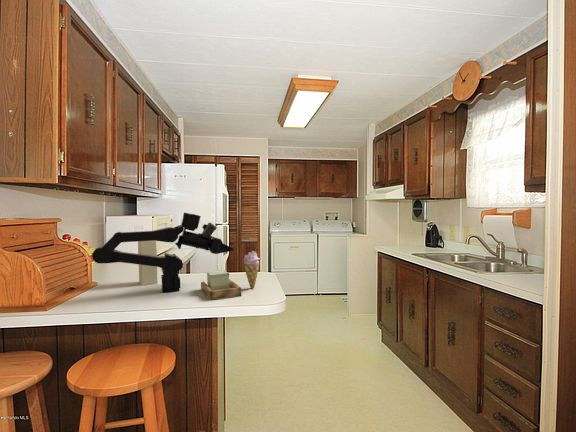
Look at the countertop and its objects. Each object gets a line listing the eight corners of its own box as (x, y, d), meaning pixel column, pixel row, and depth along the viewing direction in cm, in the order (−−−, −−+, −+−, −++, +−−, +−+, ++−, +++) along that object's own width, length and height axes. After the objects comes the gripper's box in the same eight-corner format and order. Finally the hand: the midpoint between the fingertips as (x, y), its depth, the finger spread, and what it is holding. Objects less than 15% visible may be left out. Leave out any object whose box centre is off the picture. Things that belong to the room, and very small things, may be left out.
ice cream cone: (263, 287, 142) (262, 250, 141) (257, 290, 136) (256, 252, 135) (248, 286, 144) (247, 249, 143) (241, 289, 138) (240, 252, 137)
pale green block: (211, 290, 133) (210, 275, 133) (207, 286, 140) (206, 271, 140) (229, 288, 136) (229, 273, 136) (225, 284, 143) (224, 270, 142)
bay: (210, 300, 124) (210, 291, 124) (201, 289, 141) (200, 281, 141) (241, 295, 129) (241, 287, 129) (228, 285, 145) (228, 278, 145)
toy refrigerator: (159, 283, 153) (157, 235, 152) (141, 285, 149) (139, 236, 149) (156, 280, 160) (154, 234, 159) (139, 282, 156) (137, 235, 155)
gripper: (203, 221, 136) (241, 231, 142) (195, 220, 153) (229, 229, 159) (196, 249, 135) (234, 258, 141) (189, 245, 152) (223, 252, 158)
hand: (230, 248), depth 150 cm, fingers open, 9 cm apart
